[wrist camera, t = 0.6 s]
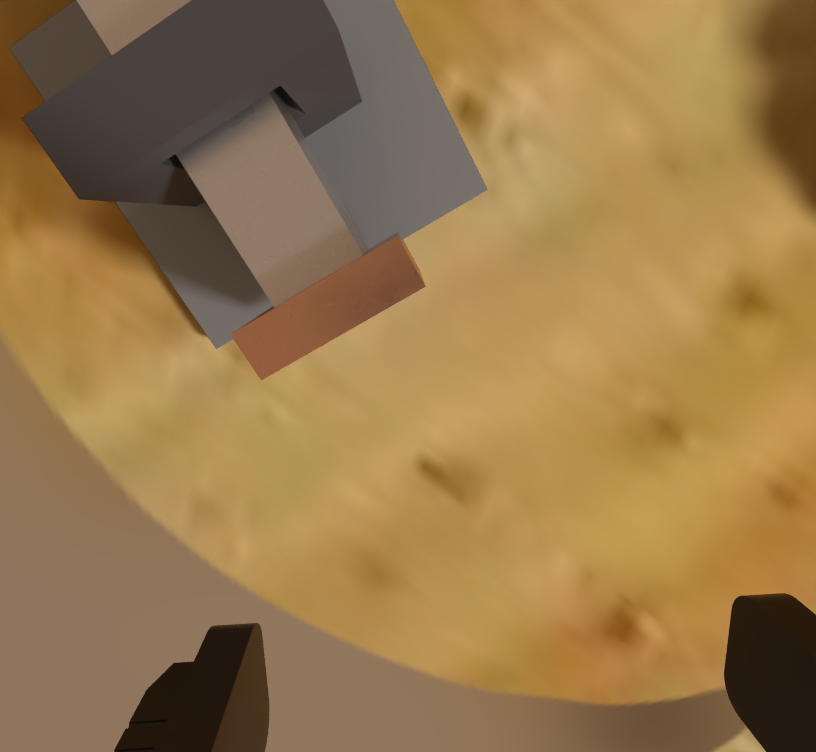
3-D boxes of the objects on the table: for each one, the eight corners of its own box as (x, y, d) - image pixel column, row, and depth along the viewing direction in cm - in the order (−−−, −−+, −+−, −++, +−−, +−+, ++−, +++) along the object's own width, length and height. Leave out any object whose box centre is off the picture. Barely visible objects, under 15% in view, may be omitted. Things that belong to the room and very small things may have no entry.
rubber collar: (332, 45, 26) (287, -67, 16) (362, 101, 26) (338, 28, 16) (163, 156, 27) (21, 118, 17) (196, 206, 28) (79, 199, 18)
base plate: (314, -147, 25) (309, -169, 23) (483, 190, 29) (487, 189, 28) (29, 57, 27) (8, 47, 26) (224, 342, 31) (216, 349, 30)
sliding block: (254, -28, 22) (191, -136, 16) (419, 268, 26) (425, 286, 19) (119, 64, 23) (4, 1, 16) (296, 339, 27) (261, 380, 20)
